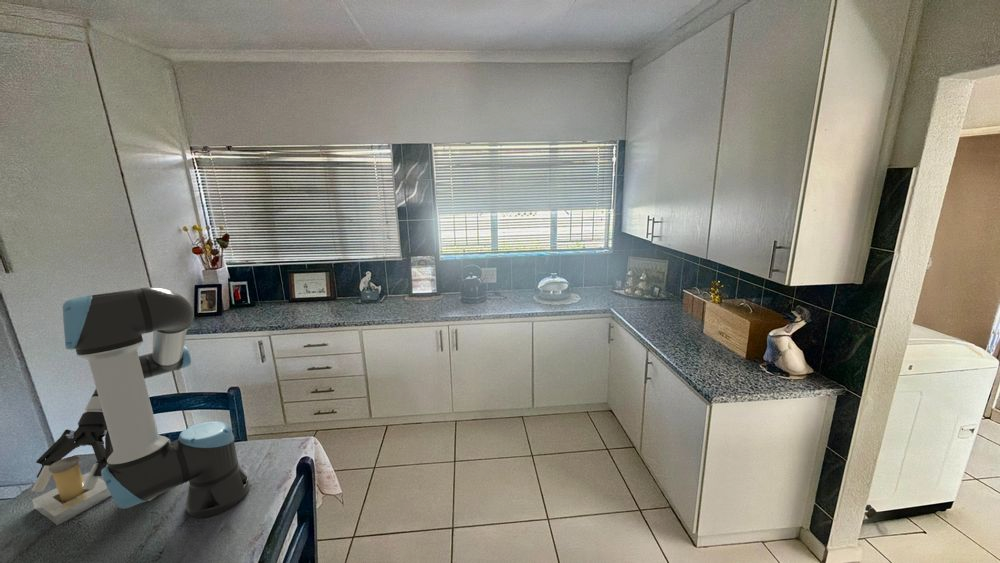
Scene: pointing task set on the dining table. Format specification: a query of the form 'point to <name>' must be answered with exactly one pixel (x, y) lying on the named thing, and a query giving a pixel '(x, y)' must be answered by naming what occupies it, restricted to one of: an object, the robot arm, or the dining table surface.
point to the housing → (70, 502)
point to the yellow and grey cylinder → (68, 478)
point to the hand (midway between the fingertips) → (62, 490)
